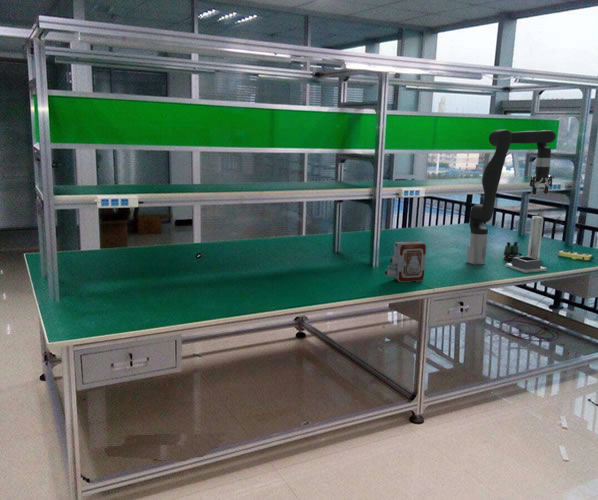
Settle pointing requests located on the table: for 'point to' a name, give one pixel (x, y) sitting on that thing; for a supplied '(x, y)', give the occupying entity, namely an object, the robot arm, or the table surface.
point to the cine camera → (408, 261)
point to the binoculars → (511, 251)
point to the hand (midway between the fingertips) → (540, 193)
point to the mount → (526, 264)
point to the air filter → (535, 237)
